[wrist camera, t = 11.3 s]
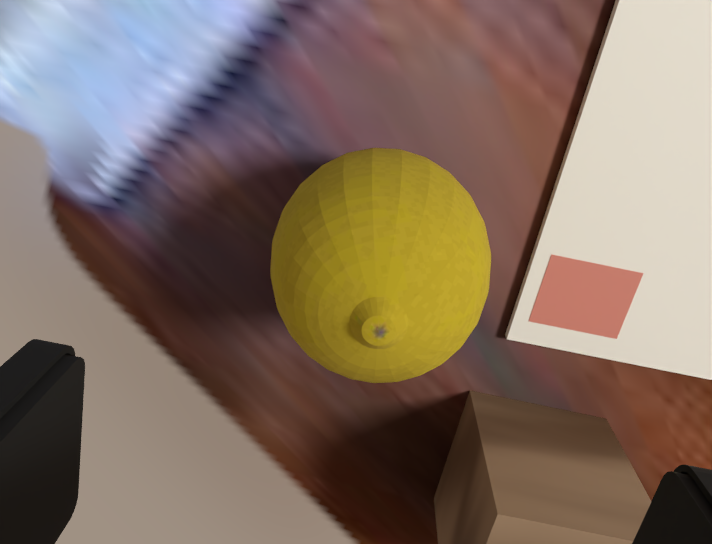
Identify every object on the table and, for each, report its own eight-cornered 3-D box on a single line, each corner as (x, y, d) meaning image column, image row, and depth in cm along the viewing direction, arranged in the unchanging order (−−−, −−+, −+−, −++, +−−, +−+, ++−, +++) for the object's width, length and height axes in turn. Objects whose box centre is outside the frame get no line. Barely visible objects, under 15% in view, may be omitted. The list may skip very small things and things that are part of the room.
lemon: (420, 318, 21) (439, 482, 14) (268, 252, 21) (202, 387, 13) (502, 171, 19) (575, 270, 12) (335, 93, 19) (303, 147, 11)
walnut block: (469, 389, 22) (497, 514, 17) (605, 417, 23) (677, 550, 17) (433, 498, 24) (448, 642, 19) (559, 523, 24) (610, 673, 19)
